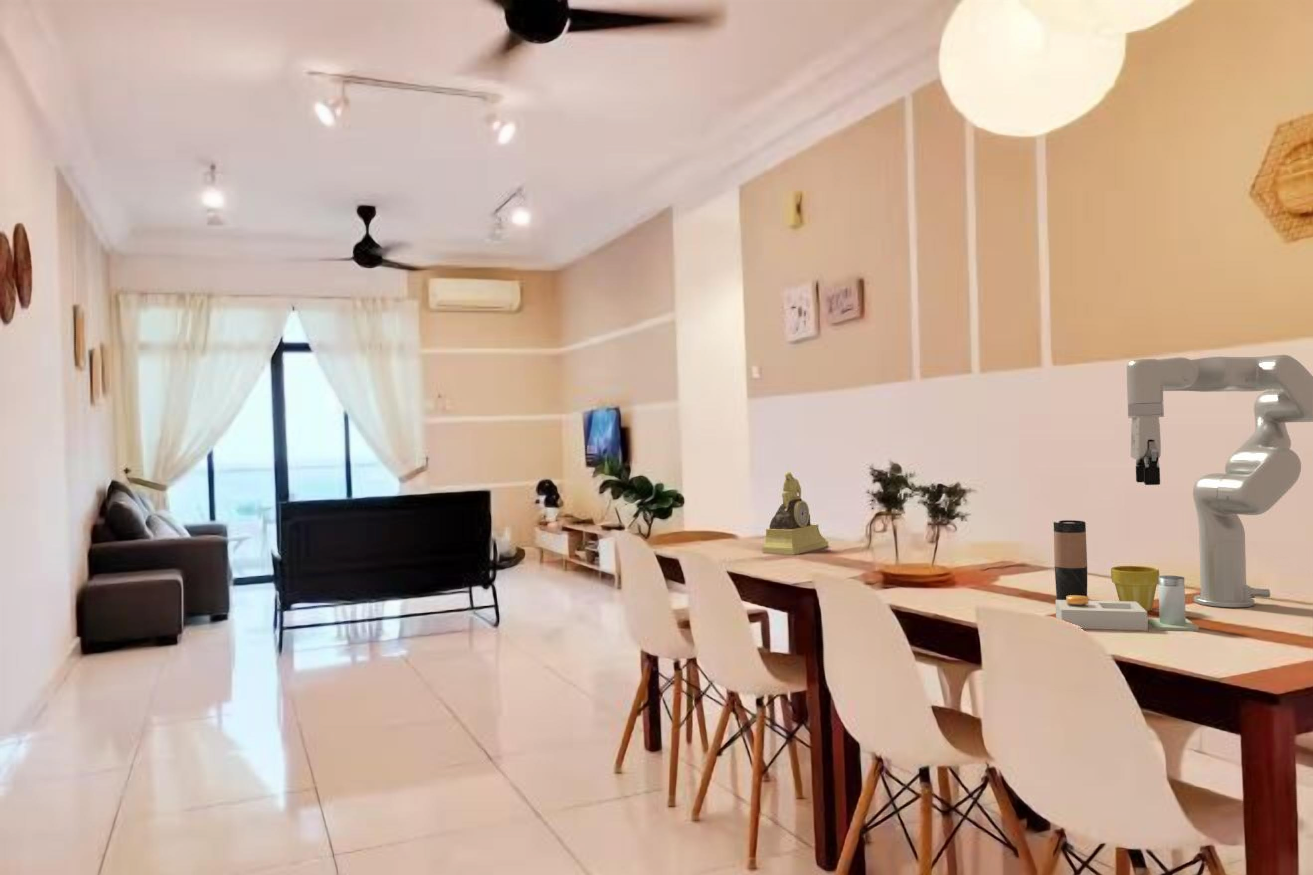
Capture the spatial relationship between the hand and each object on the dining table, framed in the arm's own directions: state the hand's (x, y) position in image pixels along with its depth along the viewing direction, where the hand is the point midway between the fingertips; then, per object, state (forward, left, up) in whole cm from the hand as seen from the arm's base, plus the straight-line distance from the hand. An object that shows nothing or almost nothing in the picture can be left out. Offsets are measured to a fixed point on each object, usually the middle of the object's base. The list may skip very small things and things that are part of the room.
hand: (1147, 483), depth 217 cm
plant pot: (+3, -2, -31) cm, 31 cm away
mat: (-1, +17, -30) cm, 35 cm away
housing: (+14, +17, -30) cm, 37 cm away
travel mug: (+16, -12, -31) cm, 36 cm away
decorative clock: (+102, -105, -31) cm, 150 cm away
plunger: (+18, +17, -29) cm, 38 cm away
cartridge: (-1, +16, -30) cm, 34 cm away
